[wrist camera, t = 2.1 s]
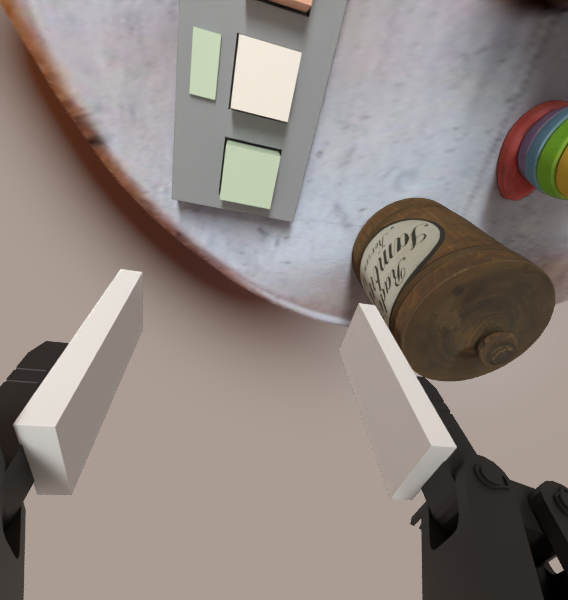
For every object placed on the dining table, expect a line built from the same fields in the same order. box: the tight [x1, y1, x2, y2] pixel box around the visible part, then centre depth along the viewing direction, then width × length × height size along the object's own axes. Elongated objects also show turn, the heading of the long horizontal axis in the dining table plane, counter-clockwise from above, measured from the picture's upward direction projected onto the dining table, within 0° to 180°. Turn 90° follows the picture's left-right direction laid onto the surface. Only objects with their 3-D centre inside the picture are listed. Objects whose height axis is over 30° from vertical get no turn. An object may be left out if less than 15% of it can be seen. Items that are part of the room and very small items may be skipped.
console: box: [172, 0, 347, 222], centre depth 32 cm, size 26×14×3 cm, turn 167°
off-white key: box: [231, 34, 302, 122], centre depth 30 cm, size 5×5×3 cm
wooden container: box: [352, 198, 555, 381], centre depth 37 cm, size 15×15×22 cm
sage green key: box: [220, 140, 281, 209], centre depth 34 cm, size 5×5×3 cm
